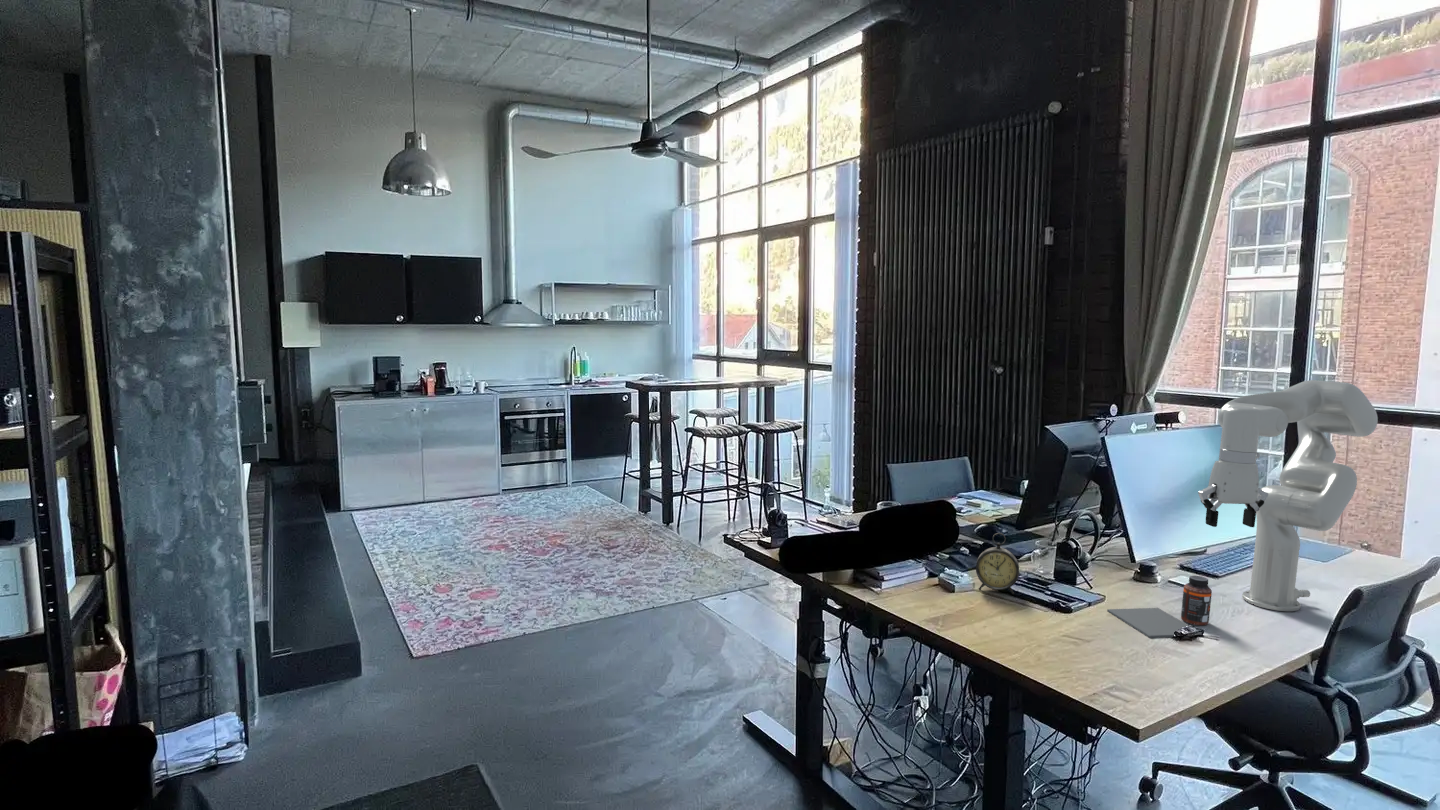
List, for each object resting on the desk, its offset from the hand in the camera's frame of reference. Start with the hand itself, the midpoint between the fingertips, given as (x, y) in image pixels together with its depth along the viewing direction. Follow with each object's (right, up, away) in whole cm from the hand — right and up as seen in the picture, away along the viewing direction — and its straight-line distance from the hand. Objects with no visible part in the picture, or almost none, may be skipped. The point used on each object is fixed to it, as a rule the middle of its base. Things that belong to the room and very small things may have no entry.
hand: (1229, 525), depth 190 cm
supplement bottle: (-8, -24, +1) cm, 26 cm away
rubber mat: (-19, -24, 0) cm, 30 cm away
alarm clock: (-50, -21, +20) cm, 58 cm away
